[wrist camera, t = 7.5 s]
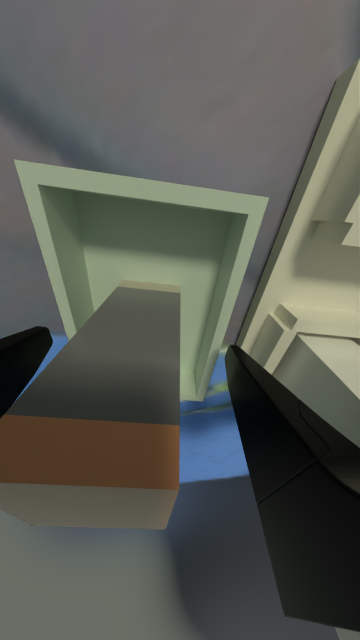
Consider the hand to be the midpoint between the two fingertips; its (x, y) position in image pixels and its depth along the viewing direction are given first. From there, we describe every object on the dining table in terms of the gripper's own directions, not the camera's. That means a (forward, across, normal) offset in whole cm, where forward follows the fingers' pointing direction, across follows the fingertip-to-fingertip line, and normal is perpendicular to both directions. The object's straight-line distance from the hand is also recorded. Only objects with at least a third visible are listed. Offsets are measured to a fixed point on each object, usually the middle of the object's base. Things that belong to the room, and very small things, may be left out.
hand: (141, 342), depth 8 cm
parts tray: (+4, 0, 0) cm, 4 cm away
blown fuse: (+4, 0, 0) cm, 4 cm away
